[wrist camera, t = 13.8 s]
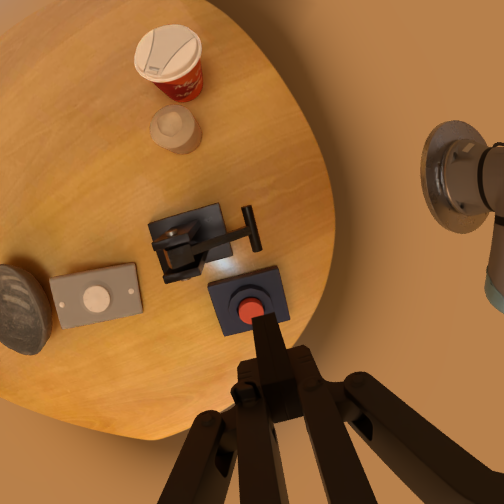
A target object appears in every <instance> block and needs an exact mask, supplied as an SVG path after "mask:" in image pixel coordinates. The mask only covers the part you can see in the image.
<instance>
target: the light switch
mask: <svg viewBox="0 0 504 504" xmlns="http://www.w3.org/2000/svg"><path fill="white" fill-rule="evenodd" d="M49 283H50V287H51V291H52V295H53V299H54V303H55V307H56V311H57V314H58V318H59V321H60V324H61V328H62V329H68V328H73V327H78V326H84V325H89V324H94V323H98V322H103V321H108V320H113V319H118V318H122V317H127V316H132V315H136V314H141V313H143V309H142V304H141V298H140V292H139V286H138V280H137V273H136V267H135V264H134V263H127V264H121V265H116V266H110V267H105V268H99V269H94V270H88V271H83V272H77V273H72V274H66V275H61V276H56V277H51V278H50V279H49Z"/></svg>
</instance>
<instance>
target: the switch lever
mask: <svg viewBox="0 0 504 504" xmlns="http://www.w3.org/2000/svg"><path fill="white" fill-rule="evenodd" d="M241 209H242V213H243V217H244V220H245V224H246V226H244V227H241V228H238V229H235V230H232V231H229V232H227V233H224V234H221V235H218V236H215V237H212V238H209V239H207V240H204V241H201V242H198V243H195V244H193V245H190V244H189V243H187V242H186V243H182V244H178V245H175V246H171V247H168V248H165V249H163V250H164V254H165V257H166V260H167V263H168V266H169V267H170V268H171V269H176V268H179V267H181V266H184V265H187V264H189V263H192V262H194V261H195V260H194V256H193V255H196V254H199V253H201V252H204V251H207V250H210V249H212V248H215V247H218V246H220V245H223V244H226V243H229V242H231V241H234V240H237V239H240V238H242V237H245V236H249V239H250V243H251V247H252V251H253V252H259V251H262V250H263V249H262V245H261V241H260V237H259V233H258V229H257V225H256V221H255V218H254V214H253V210H252V206H251V205H247V206H243V207H241Z"/></svg>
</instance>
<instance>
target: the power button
mask: <svg viewBox="0 0 504 504" xmlns="http://www.w3.org/2000/svg"><path fill="white" fill-rule="evenodd" d="M261 315H264V310H263V306H262V303H261V302H260V301H259V300H258V299H256V298H246V299H244V300H243V301H242V302H241V303H240V305H239V317H240V319H241V320H242V321H243V322H245V323H247V324H252V320H251V318H253V317H257V316H261Z"/></svg>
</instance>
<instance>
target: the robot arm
mask: <svg viewBox="0 0 504 504" xmlns="http://www.w3.org/2000/svg"><path fill="white" fill-rule="evenodd" d="M499 145H500V146H504V143H501V142H497V143H495V144H494V145H493V147H488V146H485V145H483V144H481V143H478V142H476V141H473V140H469V139H459V140H455V141H453V142H452V143H451V144H450V145H449V146H448V147H447V149H446V150H445V152H444V155H443V158H442V163H441V183H442V188H443V192H444V195H445V197H446V200H447V201H448V203H449V205H450V206H451V207H452V208H453V209H454V210H455V211H456V212H457V213H459V214H462V215H466V216H475V215H479V214H483V213H487V212H491V211H493V212H495V222H494V230H493V238H492V245H491V252H490V257H489V263H488V266H487V269H486V273H487V275H486V281H485V293H486V297H487V299H488V300H489V302H490V303H491V304H492V305H493V306H494V307H495V308H496V309H497V310H499V311H500V312H502V313H503V314H504V147H497V146H499ZM251 320H252V327H253V334H254V342H255V349H256V356H257V358H253V359H249V360H245V361H241V362H240V364H239V366H238V367H237V373H238V383H236V384H235V385H234V386H233V387H232V388H231V392H230V393H231V395H232V397H233V400H234V402H235V404H236V405H235V406H234V407H233V408H231V409H230V410H228V411H226V412H223V413H221V414H220V413H219V412H217V411H214V410H208V411H204V412H202V413H200V414H199V415H197V417H196V418H195V419H194V422H193V424H192V426H191V429H190V431H189V433H188V435H187V438H186V440H185V442H184V445H183V447H182V449H181V451H180V454H179V456H178V458H177V460H176V463H175V465H174V467H173V469H172V472H171V474H170V476H169V478H168V481H167V483H166V485H165V487H164V489H163V492H162V494H161V496H160V498H159V501H158V503H157V504H224V501H225V498H226V494H227V491H228V487H229V484H230V480H231V477H232V473H233V469H234V466H235V462H236V458H237V455H238V472H239V490H240V491H239V492H240V504H289V500H288V494H287V489H286V484H285V478H284V473H283V468H282V462H281V457H280V451H279V446H278V441H277V435H276V431H275V428H274V424H273V423H278V422H283V421H287V420H291V419H294V418H298V417H302V416H304V420H305V423H306V428H307V432H308V434H309V437H310V441H311V444H312V448H313V451H314V455H315V458H316V462H317V465H318V469H319V472H320V476H321V479H322V483H323V486H324V490H325V493H326V497H327V500H328V504H378V503H377V501H376V498H375V496H374V493H373V491H372V489H371V486H370V484H369V481H368V479H367V477H366V474H365V472H364V469H363V467H362V465H361V462H360V460H359V458H358V455H357V453H356V451H355V448H354V446H353V443H352V441H351V439H350V436H349V434H348V432H347V429H346V427H345V425H344V422H348V424H349V425H350V426H351V427H352V428H353V429H354V430H355V431H356V433H357V434H358V435H359V436H360V437H361V438H362V439H363V440H364V441H365V442H366V443H367V444H368V446H370V448H371V449H372V450H373V451H374V452H375V453H376V454H377V455H378V456H379V457H380V458H381V459H382V461H383V462H384V463H385V464H386V465H387V466H388V467H389V468H390V469H391V470H392V471H393V472H394V473H395V474H396V475H397V476H398V477H399V478H400V479H401V480H402V481H403V482H404V483H405V484H406V485H407V486H408V487H409V488H410V489H411V490H412V491H413V492H414V493H415V494H416V495H417V496H418V497H419V498H420V499H421V500H422V501H423V502H424V503H425V504H504V473H499V472H495V471H492V470H491V469H489V468H488V467H487V466H485V465H484V464H483V463H481V462H480V461H479V460H477V459H476V458H475V457H473V456H472V455H471V454H469V453H468V452H467V451H466V450H464V449H463V448H462V447H460V446H459V445H458V444H457V443H455V442H454V441H453V440H451V439H450V438H449V437H448V436H446V435H445V434H444V433H442V432H441V431H440V430H439V429H437V428H436V427H435V426H434V425H432V424H431V423H430V422H428V421H427V420H426V419H425V418H423V417H422V416H421V415H420V414H418V413H417V412H416V411H415V410H413V409H412V408H411V407H409V406H408V405H407V404H406V403H405V402H403V401H402V400H401V399H400V398H398V397H397V396H396V395H395V394H393V393H392V392H391V391H390V390H389V389H387V388H386V387H385V386H383V385H382V384H381V383H380V382H379V381H377V380H376V379H375V378H374V377H373V376H371V375H370V374H368V373H366V372H354V373H352V374H350V375H348V376H347V377H346V378H345V380H344V382H329V381H326V380H324V379H323V378H322V376H321V375H320V372H319V370H318V368H317V365H316V363H315V361H314V358H313V356H312V354H311V352H310V349H309V348H307V347H306V346H304V345H301V346H297V347H293V348H290V349H286V347H285V344H284V341H283V337H282V334H281V331H280V328H279V325H278V321H277V318H276V315H275V312H272V313H268V314H265V315H261V316H257V317H253V318H251Z"/></svg>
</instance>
